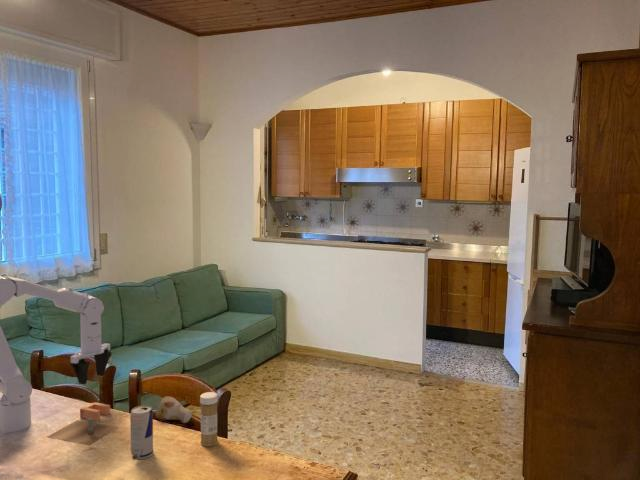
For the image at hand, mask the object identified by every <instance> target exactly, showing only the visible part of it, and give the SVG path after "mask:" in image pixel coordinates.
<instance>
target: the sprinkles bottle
mask: <svg viewBox="0 0 640 480" xmlns="http://www.w3.org/2000/svg"><path fill="white" fill-rule="evenodd" d="M199 397H200V398H199V403H200V445H201V446H204V447H213V446H215V445H217V443H218V440H219V439H218V402H219V401H218V400H219V399H218V398H219V396H218V394H217V393H216V392H214V391H213V392H212V391H208V392H203V393H202V394H201V395H200V396H199Z"/></svg>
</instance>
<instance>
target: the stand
mask: <svg viewBox="0 0 640 480" xmlns="http://www.w3.org/2000/svg"><path fill="white" fill-rule="evenodd" d="M118 428H119V427H118V426H113V425H107V424H103V423H96V422H94V420H93V418H89V419H87V421H84V420H79V419H77V420H75V421H72V422H71V423H69V424H67V425H66V426H64V427H62V428H60V429H59V430H57V431H55V432H53V433H51V434H50V435H47V436H46V438H48V439H53V440H54V439H55V440H60V441H65V442H69V443H77V444H80V445H81V444H82V445H87V446H91V445H93V444H94V443H95V442H97V441H99V440H100V439H102V438H104V437H105V436H107V435H108V434H110V433H111V432H114V431H115V430H117V429H118Z"/></svg>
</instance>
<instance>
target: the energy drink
mask: <svg viewBox="0 0 640 480" xmlns="http://www.w3.org/2000/svg"><path fill="white" fill-rule="evenodd" d="M153 413H154V411H153V409H152V406H150V405H138V406H135V407H133V408H132V409H131V410H130V413H129V415H130V453H131V454H133V456H131V458H132V459H133V460H138V461H139V460H140V461H141V460H146V459H149V458H150V457H151V456H152V455H153V454H154V422H153V421H154V416H153Z"/></svg>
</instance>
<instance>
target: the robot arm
mask: <svg viewBox="0 0 640 480" xmlns="http://www.w3.org/2000/svg"><path fill="white" fill-rule="evenodd" d="M25 295H27V296H28V295H29V296H33V297H37V298H41V299H45V300H48V301H52V302H53V304H54V306H55V307H56V308H60V309H64V310H67V311H71V312H75V313H79V314H80V322H79V323H80V350H79V351H78V352H76V353H75V354H73V355H71V356H70V361H69V364H70V366H71V368H72V369H73V370H74V372H75V375H76V377H77V380H78V381H77V382H78V384H79V385H80V384H81V385H86V384H87V383H88V382H87V381H88V371H89V367H90V364H91V362H89V361H86V359H89V358H91V357H94V361H95V367H96V368H95V371H96V376H100V377H103V376H105V373H106V369H107V365H108V363H109V360H110V358H111V356H112V351H110V350H111V343H107V342H106V343H102V319H101V318H102V314H103V313H104V310H105V306H104V304H103V302H102V300H101V299H99V298H98V297H94V296H92V295H90V294H89V293H88V292H83V293H82V292H78V291H76V290H74V288H73V287H69V286H68V287H67V288H66V287H61V288H60V289H57V290H56V289H53V288H50V287H47V286H44V285H42V284H37V283H36V282H31V281H29V280H26V279H23V278H18V277H12V276H3V275H1V274H0V309H1V308H2V307H3V306H4V305H5V304H6V303H8V301H10V300H11V299H12V298H13V297H16V298H19V297H21V296H25ZM11 350H12V349H11V347H10V345H9V343H8V341H7V338H6V336H5V334H4V331H3V329H2V326H1V325H0V393H2V395H1V397H0V437H1V436H3V435H6V434H7V433H15V432H19V431H23V430H25V429H27V428H30V426H31V425H32V412H31V411H32V409H31V407H32V406H31V404H32V403H31V402H32V401H31V395H32V393H33V386H32V384H31V382H29V381H28V380H27V379H25V377H24V375H23V374H22V371H21V369H20V368H19V367H18V365H17V362H16V360H15V356H14V355H13V353H12V351H11Z"/></svg>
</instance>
